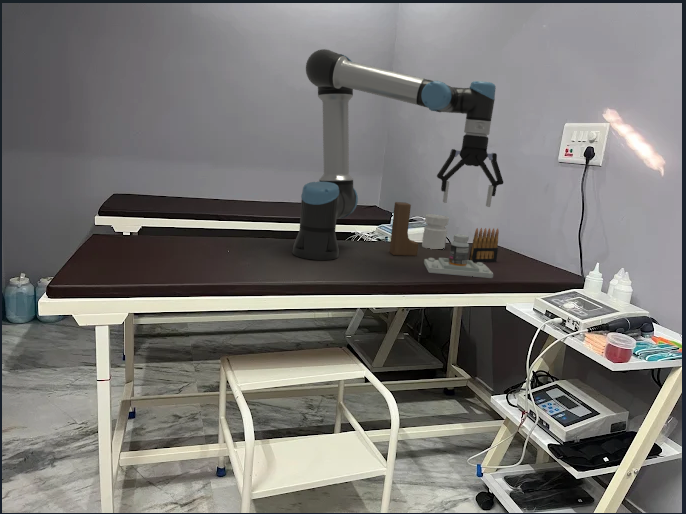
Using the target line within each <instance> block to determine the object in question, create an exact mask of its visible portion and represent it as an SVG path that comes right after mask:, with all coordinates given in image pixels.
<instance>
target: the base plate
mask: <svg viewBox="0 0 686 514" xmlns="http://www.w3.org/2000/svg"><path fill="white" fill-rule="evenodd" d="M448 263H449V257H447V258H446V257H438V259H436V258H434V257H428V258H424V259H423V265H424V267H425V268H426V270H427V272H428V273H431V274H439V275H440V274H442V275H450V276H451V275H453V276H461V277H462V276H463V277H465V276H466V277H472V276H473V277H474V278H486V279H493V278H494V273H493V271H492V270H491V269H490V268H489V267H488V266H487V265H486V264H484V262H473V261H471V260H469V259H467V264H466V267H461V266H450V265H449V264H448Z"/></svg>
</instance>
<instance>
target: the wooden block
mask: <svg viewBox="0 0 686 514" xmlns="http://www.w3.org/2000/svg"><path fill="white" fill-rule="evenodd" d="M411 206H412V204H410V203H408V202H400V201H395V202H394V208H393V217H392V225H391V235H390V245H389V252H388V253H390V254H391V255H393V256H405V257H406V256H408V257H409V256H410V257H411V256H412V257H413V256H414V257H417V256H418V251H419V243H418V242H416V241H414V240H412V239H410V238H409V233H408V232H409V225H410V216H411V208H412V207H411Z"/></svg>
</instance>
